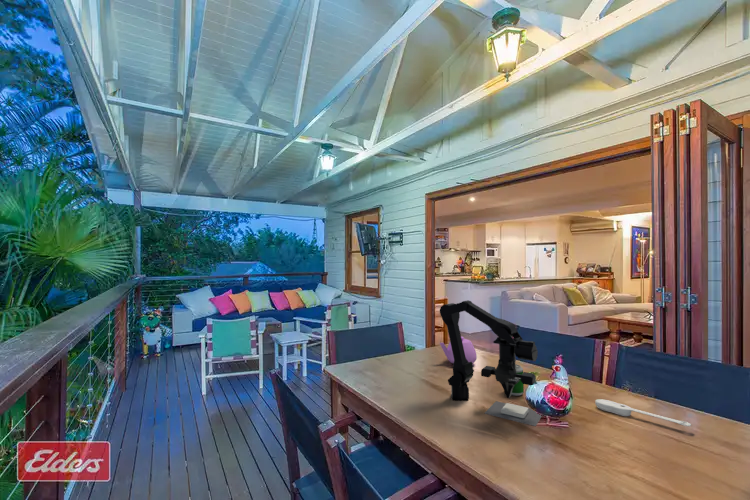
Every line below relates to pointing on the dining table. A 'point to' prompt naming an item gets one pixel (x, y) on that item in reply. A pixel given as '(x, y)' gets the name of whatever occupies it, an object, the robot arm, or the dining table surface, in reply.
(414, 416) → the dining table surface
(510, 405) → the tile
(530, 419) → the mat
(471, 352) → the teapot
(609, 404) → the spatula
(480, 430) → the dining table surface
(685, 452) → the dining table surface
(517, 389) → the soda can
